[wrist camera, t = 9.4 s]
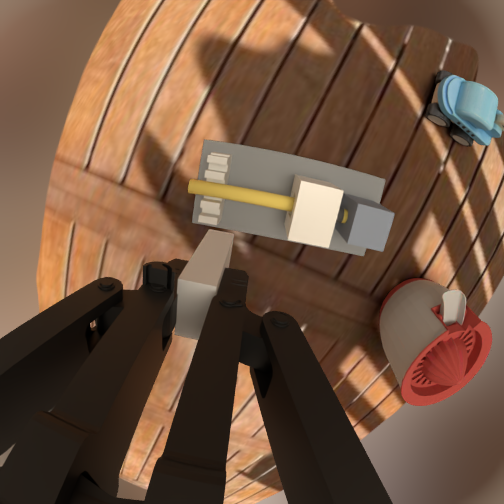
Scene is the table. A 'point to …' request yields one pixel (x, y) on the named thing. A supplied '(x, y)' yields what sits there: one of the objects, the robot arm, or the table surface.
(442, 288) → the citrus juicer
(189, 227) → the table surface
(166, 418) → the table surface
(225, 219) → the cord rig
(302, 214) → the sleeve
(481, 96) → the toy excavator
